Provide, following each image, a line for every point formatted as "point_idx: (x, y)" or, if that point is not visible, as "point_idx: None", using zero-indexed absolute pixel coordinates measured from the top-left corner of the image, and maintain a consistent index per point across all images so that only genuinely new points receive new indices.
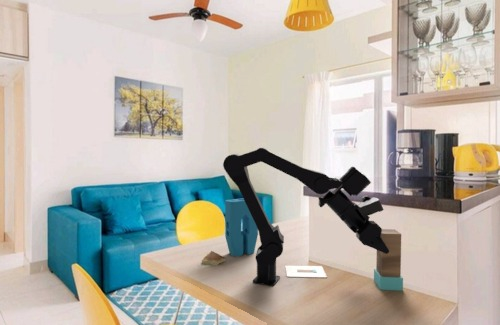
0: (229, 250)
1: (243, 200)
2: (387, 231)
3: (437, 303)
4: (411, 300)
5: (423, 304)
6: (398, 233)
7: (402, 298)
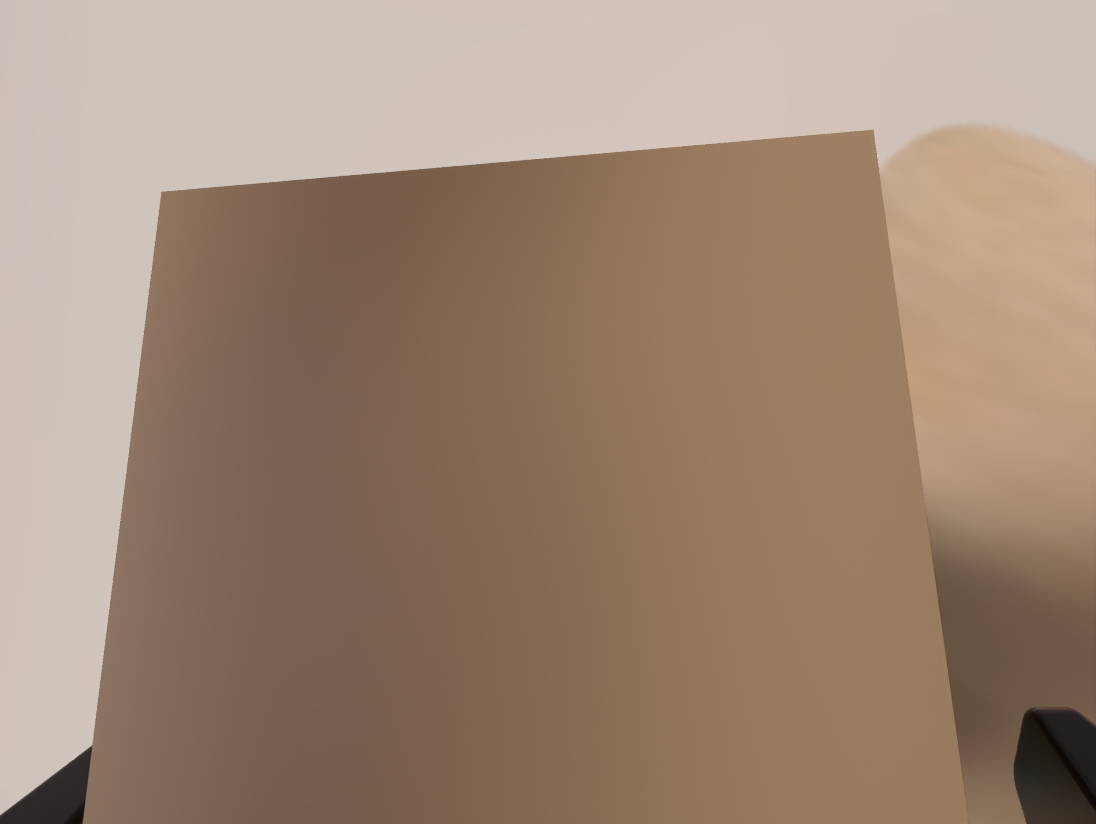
0: None
1: None
2: (512, 583)
3: (1004, 246)
4: (999, 483)
5: (1070, 389)
6: (797, 211)
7: (969, 568)
